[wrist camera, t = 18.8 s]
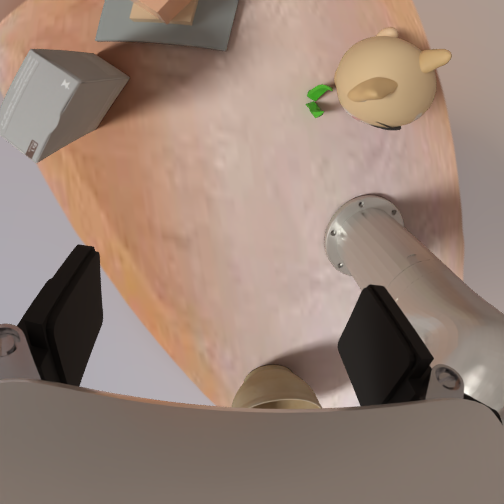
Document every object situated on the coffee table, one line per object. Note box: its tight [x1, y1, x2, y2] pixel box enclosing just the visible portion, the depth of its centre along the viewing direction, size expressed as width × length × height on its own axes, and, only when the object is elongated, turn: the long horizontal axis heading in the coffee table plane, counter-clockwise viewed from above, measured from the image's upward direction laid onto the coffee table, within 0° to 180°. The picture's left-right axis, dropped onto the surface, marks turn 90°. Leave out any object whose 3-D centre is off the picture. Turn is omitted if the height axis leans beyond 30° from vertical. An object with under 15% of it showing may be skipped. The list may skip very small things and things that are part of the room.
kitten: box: [306, 27, 452, 130], centre depth 28 cm, size 15×10×15 cm
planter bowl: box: [232, 365, 322, 409], centre depth 53 cm, size 16×16×11 cm
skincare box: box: [0, 49, 130, 163], centre depth 25 cm, size 8×7×16 cm
